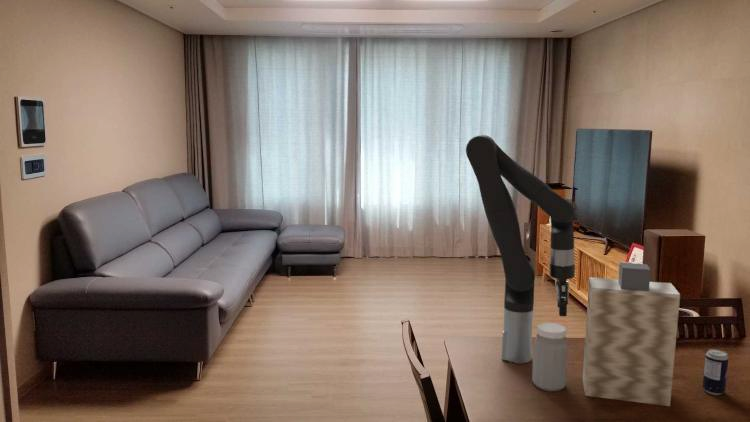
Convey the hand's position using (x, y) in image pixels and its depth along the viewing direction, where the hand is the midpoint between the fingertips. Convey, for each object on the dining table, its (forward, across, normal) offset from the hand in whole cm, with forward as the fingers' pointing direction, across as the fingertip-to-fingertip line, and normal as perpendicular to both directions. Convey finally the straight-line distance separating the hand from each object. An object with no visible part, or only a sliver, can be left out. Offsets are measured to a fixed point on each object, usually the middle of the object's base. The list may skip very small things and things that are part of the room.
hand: (561, 311), depth 182 cm
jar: (+18, +17, -5) cm, 25 cm away
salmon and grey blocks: (-14, +10, +18) cm, 25 cm away
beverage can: (+20, +9, +41) cm, 47 cm away
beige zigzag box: (+18, +16, +16) cm, 29 cm away
